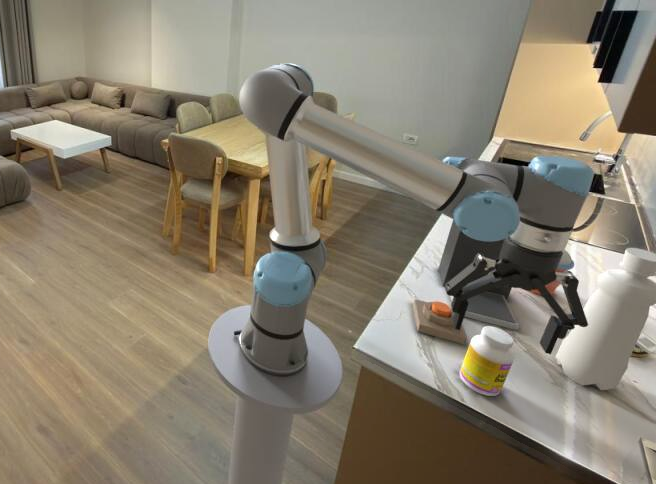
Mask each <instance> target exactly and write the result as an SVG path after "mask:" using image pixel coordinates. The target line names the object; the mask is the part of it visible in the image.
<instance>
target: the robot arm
mask: <svg viewBox="0 0 656 484" xmlns="http://www.w3.org/2000/svg"><path fill="white" fill-rule="evenodd" d="M314 92H315V83H314V80H313V78H312V76H311V74H310V73H309V72H308V71H307V70H306V69H305V68H303V67H302V66H300V65H298V64H294V63H278V64H273V65H271V66H270V67H269V66H268V67H267V68H264V69H260V70H258V71H255V72H254V73H253V74H251V75H250V76H248V78H247V79H246V80H245V81H244V82H243V84H242V86H241V88H240V91H239V95H238V99H239V100H238V103H239V107H240V110H241V112H242V114H243V116H244V117H245V119H246V120H247V121H248V122H249V123H251V124H252V125H254V127H257V130H258V131H260V132H261V133H263V134H264V136H265V145H266V146H265V147H266V154H267V155H266V156H267V164H268V174H269V175H268V176H269V184H270V192H271V203H272V211H273V219H274V227H273V228H272V229H271V230H270V231H269V242H270V253H269V252H268V253H265V254H264V255H263V256H261V257H260V258H259V260H258V261H257V263H256V265H255V269H254V271H253V277H252V281H253V283H252V284H253V285H252V292H251V293H252V295H251V303H250V305H251V313H250V317H249V318H248V320H247V322H246V323H245V325H244V327H243V329H242V330H239V331H234V335H240V341H239V345H240V350H241V352H242V354H243V356H244V357H245V359H246V360H247V361H248V362H249V363H250V364H251V365H252V366H254V367H255V368H257V369H258V370H260V371H262V372H264V373H267V374H270V375H274V376H291V375H295V374H297V373H299V372H300V371H301V370H303V368H304V367H305V365H306V363H307V358H308V355H309V350H308V347H307V343H306V339H305V335H304V331H303V328H304V322H305V319H306V316H307V310H308V306H309V302H310V299H311V297H312V294H313V292H314V291H315V288H316V286H317V283H318V281H319V278H320V276H321V274H322V272H323V271H324V269H325V266H326V263H327V249H326V246H325V244H324V242H323V240H322V238H321V232H320V230H319V229H318V228H316V227H315V226H314V225H313V214H312V202H311V200H312V199H311V190H310V189H311V188H310V177H309V165H308V164H309V163H308V153H307V152H308V151H307V148H309V149H311V150H313V151H315V152H317V153H319V154H321V155H323V156H326V157H327V158H329V159H331V160H333V161H335V162H337V163H339V164H341V165H343V166H346V167H347V168H349V169H351V170H353V171H355V172H358V173H360V174H361V175H364V176H365V177H368V178H370V179H372V180H374V181H375V182H378V183H380V184H382V185H384V186H386V187H387V188H389V189H392V190H394V191H396V192H398V193H399V194H402V195H404V196H406V197H408V198H410V199H412V200H414V201H417V202H418V203H420V204H422V205H423V206H426V207H428V208H430V209H432V210H435V211H436V212H438V213H440V214H442V215H444V216H446V217H448V218H450V219H451V220H453V219H454V221H455V223H456V225H457V226H458V228H459V229H460V230H461V231H462V232H463V233H464V234H465V235H467V236H469V237H471V238H473V239H476V240H480V241H488V242H491V241H499V240H503V239H505V240H504V243H503V246H502V248H501V251H500V255H499V257H498V258H497V259H496V260H492V259H488V258H485V257H484V256H483V255H482V254H477V255H476V256H475V258H474V260H473V262H472V263H471V264H470V265H469V266H467V267H466V268H465V269H464V270H462V271H461V272H460V273H459V274H457V275H456V276H455V277H454V278H452V279H451V280H450V281H449V282H448V283H446V284H445V286H444V289H445V292H446V295H447V296H449V297H450V296H453V300H451V304H450V308H452V311H453V312H455V314H454V317H453V323H454V327H455V329H457V330H460V328H461V325H462V326H463V322H464V319H465V317H464V316H465V313H466V310H467V307H468V301H467V299H469V298H471V297H474V296H476V295H478V294H481V293H483V292H485V291H488V290H490V289H492V288H495V287H501V286H504V285H506V284H507V285H508V286H509V287H512V289H521V290H523V291H527V292H531V290H536V289H537V290H538V291H539V292H540V294H541V295H540V296H541V297H542V298H543V299H544V300H545V302H546V303H547V304H548V305H549V307H550V308H551V309H552V311H553V312H554V313H555V315H556V316H555V315H550V317H549V319H548V322H547V325H546V327H545V329H544V331H543V333H542V336H541V338H540V341H539V344H540V346H541V348H542V350H543V351H544V353H545V354H548V355H552V352H553V350H554V348H555V346H556V343H557V341H558V339H560V340H564V339H565V338H566V337H567V335H568V332H569V331H571V330H572V329H574V328H575V326H574V325H579V326H581V327H587V326H588V322H587V319H586V316H585V313H584V310H583V309H584V307H583V304H582V302H581V299H580V295H579V292H578V287H579V283H580V281H579V278H577V277H576V275H575V274H574V273H573V272H572V271H571V270H568V271H564V272H563V273H559V272H555V270H556V269H557V268H558V265H559V263H560V260H561V258H562V255H563V252H562V251H563V250H564V249H565V250H566V247H567V245H568V244H569V240H570V238H571V235H572V233H573V231H574V228H575V225H576V222H577V220H578V218H579V216H580V213H581V211H582V210H583V209H582V208H583V206H584V204H585V202H586V200H587V199H588V198H587V197H589V195H590V190H591V187H592V183H593V179H594V177H595V171H594V169H593V168H592V167H591V166H590V165H589V164H587V163H585V162H582V161H580V160H576V159H574V158H569V157H563V156H555V155H550V156H549V155H538V156H535V157H534V158H532V159H531V161H530V163H528V166H525V165H515V164H509V163H503V162H495V161H488V160H481V159H475V158H470V157H458V156H446V157H445V158H443V159H442V160H440V159H438V158H436V157H434V156H431V155H429V154H427V153H425V152H423V151H420V150H419V149H418V150H417V149H416V148H414V147H412V146H409V145H407V144H404V143H403V142H400V141H398V140H395V139H394V138H392V137H389V136H387V135H385V134H383V133H380V132H378V131H376V130H373V129H371V128H369V127H367V126H365V125H362V124H360V123H358V122H355V121H354V120H351V119H349V118H347V117H344V116H342V115H340V114H338V113H336V112H333V111H331V110H329V109H327V108H325V107H322V106H320V105H318V104H316V103H315V102H314V99H313V97H314ZM490 267H495V269H496V270H493V271H491V272H489V273H488V275H486V276H484V277H482V278H479V279H477V280H475V281H473V282H471V281H472V280H474V279H475V278H476V277H478V276H479V275H480V274H481V273H482V272H483V271H484V270H488V269H489V268H490ZM499 276H500V277H501V278H499V279H498V277H499ZM555 280H558V282H559V283H560V285H561V286H562V289H563V292H564V296H565V299H566V301H567V304H568V307H569V310H570V313H566V312H565V310H564V309H563V308H562V306H561V305H560V304H559V302H558V301H557V300H556V299H555V297H554V296H553V294H551V293H550V292H549V290H548V289H547V288H546V286H545V285H547V284H549V283H551V282H553V281H555ZM470 282H471V283H470Z"/></svg>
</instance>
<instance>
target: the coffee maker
mask: <svg viewBox="0 0 656 484" xmlns="http://www.w3.org/2000/svg"><path fill="white" fill-rule="evenodd" d="M504 240H505V239H503V240H499V241H491V242H488V241H480V240H476V239H473V238H471V237H469V236H467V235H465V234H464V233H463V232H462V231H461V230H460V229H459V228H458V226H457V225H456V223H455V221H454V219H452V223H451V225H450V229H449V232H448V234H447V240H446V242H445V246H444V248H443V252H442V256H441V259H440V262H439V266H438V268H437V272H438V275H439V279H440V281H441V284H442V287H445V284H446V283H448V282H449V281H450V280H451V279H452V278H454V277H455V276H456V275H457V274H459V273H460V272H461V271H462V270H464V269H465V268H466V267H467V266H469V265H470V264H471V263H472V262H473V260H474V258H475V256H476V255H477V254H482V255H483V256H484V257H485V258H488V259H492V260H496V259H497V258H498V257H499V255H500V251H501V248H502V246H503V243H504ZM493 270H496V269H495V267H490V268H489V269H488V270H484V271H483V272H482V273H481V274H480V275H479V276H478V277H476V278H475V279H474V280H472V281H471V282H473V281H475V280H477V279H479V278H482V277H484V276H486V275H488V273H489V272H491V271H493ZM499 278H501V277H500V276H499V277H498V279H499ZM471 282H470V283H471ZM512 289H513V287H509V286H508V285H507V284H506V285H504V286H501V287H495V288H492V289H490V290H488V291H485V292H483V293H481V294H478V295H476V296H474V297H471V298H469V299H467V301H468V307H467V310H466V313H465V316H464V318H467V319H472V320H475V321H479V322H484V323H488V324H492V325H495V326H498V327H502V328H506V329H511V330H513V331H514V330H515V331H518V329H519V328H520V324H519V322H518V320H517V318H516V316H515V314H514V312H513V311H512V309H511V307H510V305H509V302H508V300H509V297H510V295H511V291H512ZM449 297H450V300H451V301H452V300H453V296H449Z"/></svg>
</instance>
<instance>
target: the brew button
mask: <svg viewBox="0 0 656 484" xmlns="http://www.w3.org/2000/svg"><path fill="white" fill-rule="evenodd" d="M433 302H434V303H433V305H432V308H431V310H432V312H434V313H435V314H437V315H439V316H442V317H449V315H450V312H451V308H452V307H451V306H449V305H448V304H447V303H444V302H441V301H433Z"/></svg>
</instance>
